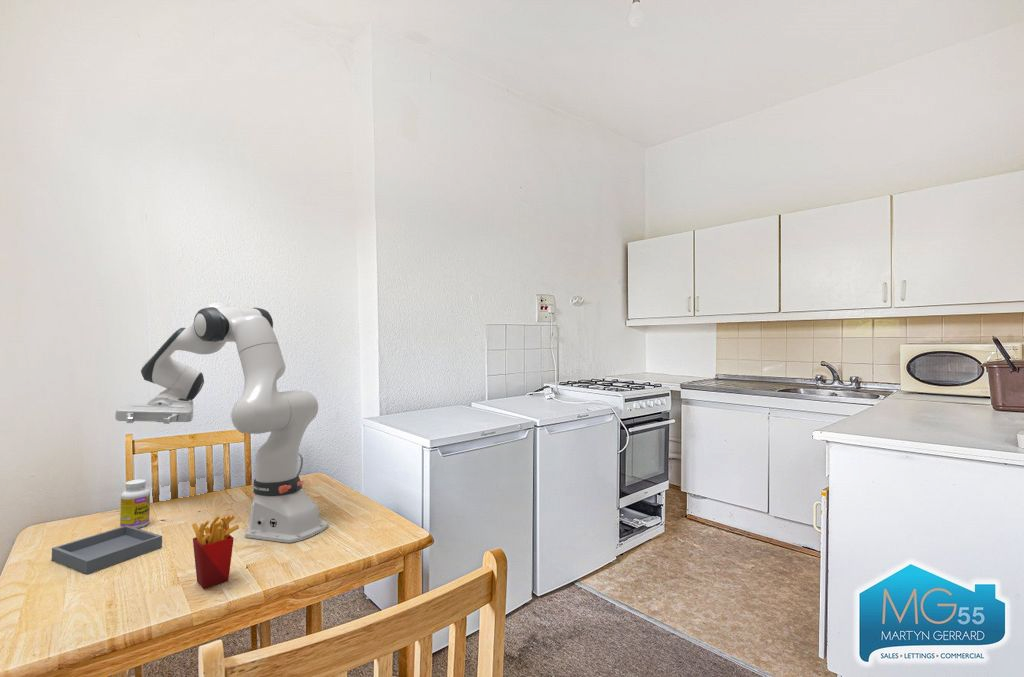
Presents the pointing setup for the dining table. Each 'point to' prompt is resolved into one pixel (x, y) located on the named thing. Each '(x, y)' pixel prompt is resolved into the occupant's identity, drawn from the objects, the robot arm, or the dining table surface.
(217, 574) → the french fries
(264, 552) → the dining table surface
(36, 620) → the dining table surface
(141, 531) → the tray
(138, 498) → the supplement bottle
